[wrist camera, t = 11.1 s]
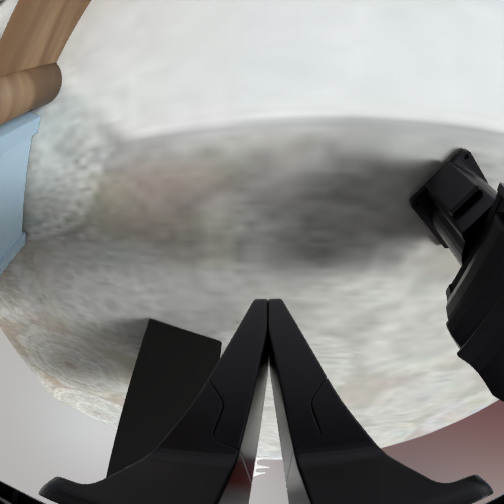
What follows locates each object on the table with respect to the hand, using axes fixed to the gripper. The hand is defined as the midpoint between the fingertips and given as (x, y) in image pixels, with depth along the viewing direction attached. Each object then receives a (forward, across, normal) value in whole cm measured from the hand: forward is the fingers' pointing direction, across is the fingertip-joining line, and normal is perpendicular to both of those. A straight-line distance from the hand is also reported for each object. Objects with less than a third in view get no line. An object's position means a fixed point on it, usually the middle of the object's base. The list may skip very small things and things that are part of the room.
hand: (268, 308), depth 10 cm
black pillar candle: (+13, +10, +20) cm, 26 cm away
